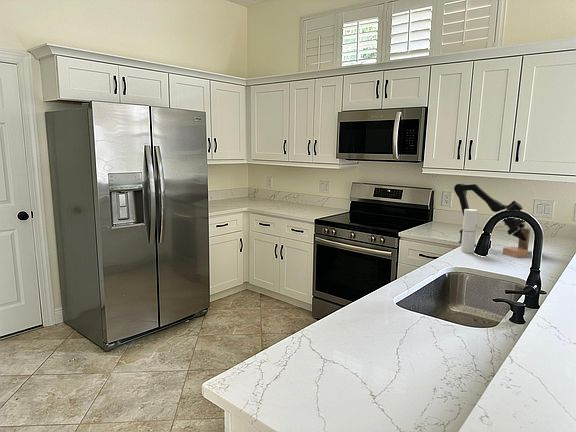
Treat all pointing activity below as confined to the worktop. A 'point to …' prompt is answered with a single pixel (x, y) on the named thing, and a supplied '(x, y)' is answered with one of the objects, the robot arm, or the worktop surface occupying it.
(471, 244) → the cylindrical container
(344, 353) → the worktop surface
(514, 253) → the terracotta riser
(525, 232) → the walnut block
